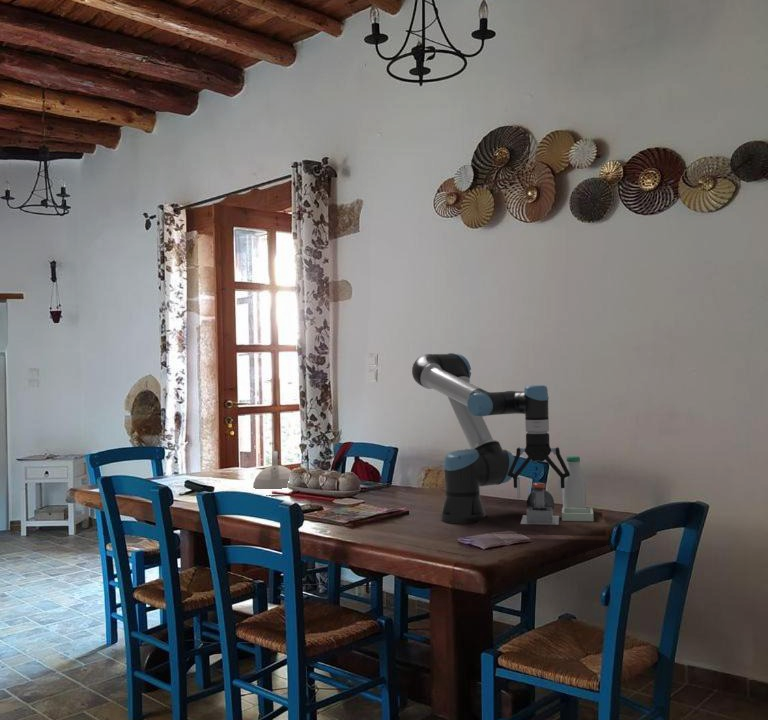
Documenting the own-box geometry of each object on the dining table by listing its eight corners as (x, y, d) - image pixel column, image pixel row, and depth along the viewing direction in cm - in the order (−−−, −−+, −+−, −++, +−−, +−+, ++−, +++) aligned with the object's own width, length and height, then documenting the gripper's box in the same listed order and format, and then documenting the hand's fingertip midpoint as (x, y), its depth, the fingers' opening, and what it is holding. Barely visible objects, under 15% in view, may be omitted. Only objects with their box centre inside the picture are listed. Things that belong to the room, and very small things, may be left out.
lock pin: (533, 522, 259) (532, 484, 259) (533, 519, 263) (532, 482, 264) (546, 522, 258) (545, 484, 259) (546, 520, 262) (545, 482, 263)
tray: (562, 524, 261) (561, 513, 261) (562, 518, 271) (562, 507, 271) (593, 524, 259) (593, 513, 259) (592, 519, 268) (592, 508, 268)
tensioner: (520, 527, 257) (519, 495, 257) (523, 518, 272) (522, 488, 272) (558, 528, 255) (557, 496, 255) (559, 519, 269) (558, 488, 269)
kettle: (250, 497, 334) (249, 454, 335) (254, 489, 355) (253, 449, 355) (299, 495, 336) (298, 452, 336) (300, 488, 357) (299, 447, 357)
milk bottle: (586, 516, 273) (584, 457, 273) (563, 516, 275) (561, 457, 275) (585, 512, 281) (583, 455, 281) (563, 512, 282) (561, 455, 283)
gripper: (498, 433, 260) (500, 499, 260) (576, 433, 255) (578, 500, 255) (500, 431, 268) (502, 495, 267) (576, 431, 262) (578, 496, 262)
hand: (539, 498), depth 261 cm, fingers open, 12 cm apart
